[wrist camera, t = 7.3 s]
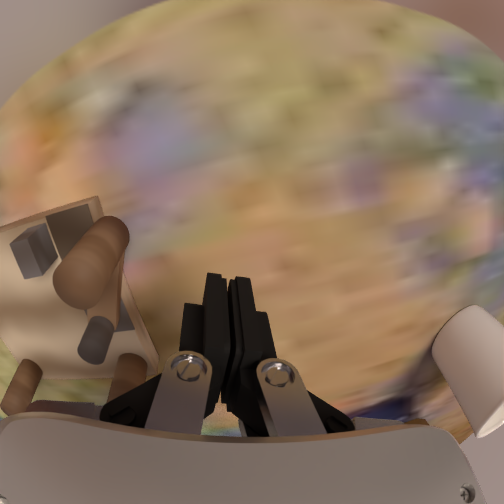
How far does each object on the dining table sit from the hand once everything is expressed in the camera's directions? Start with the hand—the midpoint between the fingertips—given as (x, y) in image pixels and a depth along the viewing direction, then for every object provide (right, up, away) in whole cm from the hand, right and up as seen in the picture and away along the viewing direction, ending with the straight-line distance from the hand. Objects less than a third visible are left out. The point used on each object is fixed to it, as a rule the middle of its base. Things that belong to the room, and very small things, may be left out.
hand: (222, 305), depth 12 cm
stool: (-14, -2, +8) cm, 17 cm away
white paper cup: (+25, -7, +16) cm, 31 cm away
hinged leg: (-8, +1, +5) cm, 9 cm away
